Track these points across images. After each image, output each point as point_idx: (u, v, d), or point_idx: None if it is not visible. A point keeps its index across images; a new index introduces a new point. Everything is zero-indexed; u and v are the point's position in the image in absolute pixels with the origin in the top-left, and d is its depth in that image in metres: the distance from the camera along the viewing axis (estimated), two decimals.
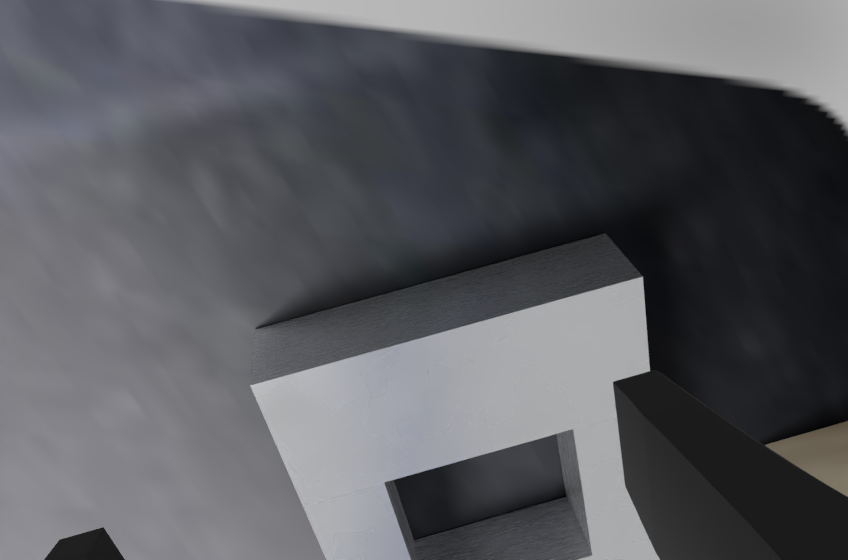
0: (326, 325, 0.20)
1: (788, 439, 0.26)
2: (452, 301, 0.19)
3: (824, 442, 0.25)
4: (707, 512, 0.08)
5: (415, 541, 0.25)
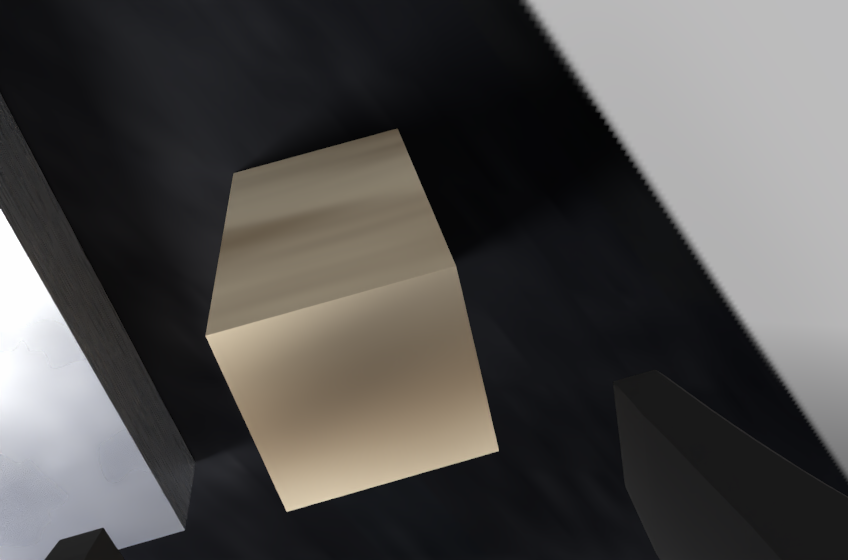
0: None
1: (304, 154, 0.17)
2: None
3: (344, 151, 0.17)
4: (707, 512, 0.08)
5: None
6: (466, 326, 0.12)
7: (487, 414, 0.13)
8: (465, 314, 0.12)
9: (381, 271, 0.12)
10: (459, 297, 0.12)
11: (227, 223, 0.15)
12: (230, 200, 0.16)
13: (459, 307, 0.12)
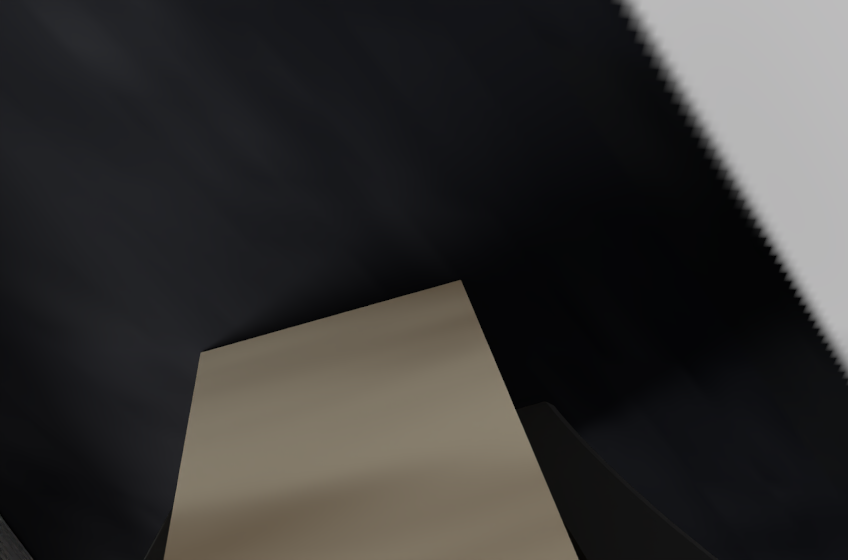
0: None
1: (313, 323, 0.11)
2: None
3: (378, 325, 0.10)
4: None
5: None
6: None
7: None
8: None
9: None
10: None
11: (180, 493, 0.08)
12: (190, 425, 0.10)
13: None
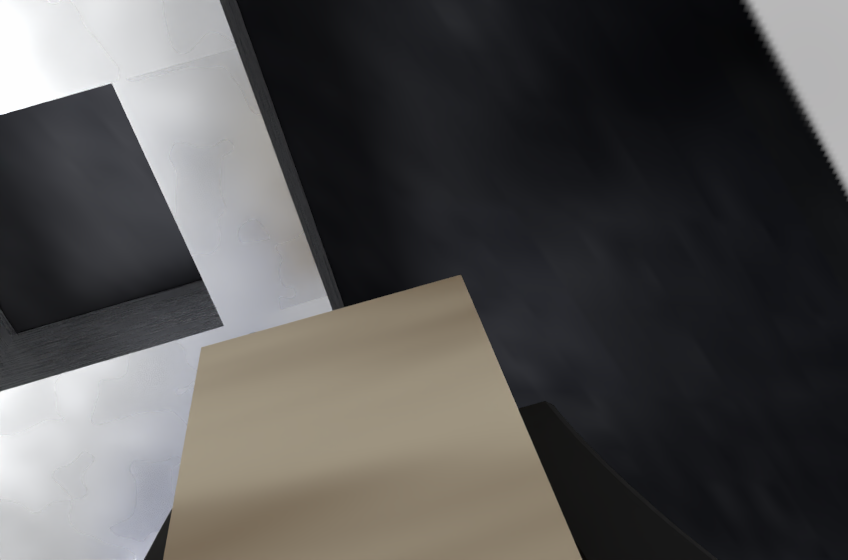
0: None
1: (313, 318, 0.11)
2: None
3: (378, 320, 0.11)
4: None
5: (16, 334, 0.18)
6: None
7: None
8: None
9: None
10: None
11: (180, 486, 0.08)
12: (191, 419, 0.10)
13: None
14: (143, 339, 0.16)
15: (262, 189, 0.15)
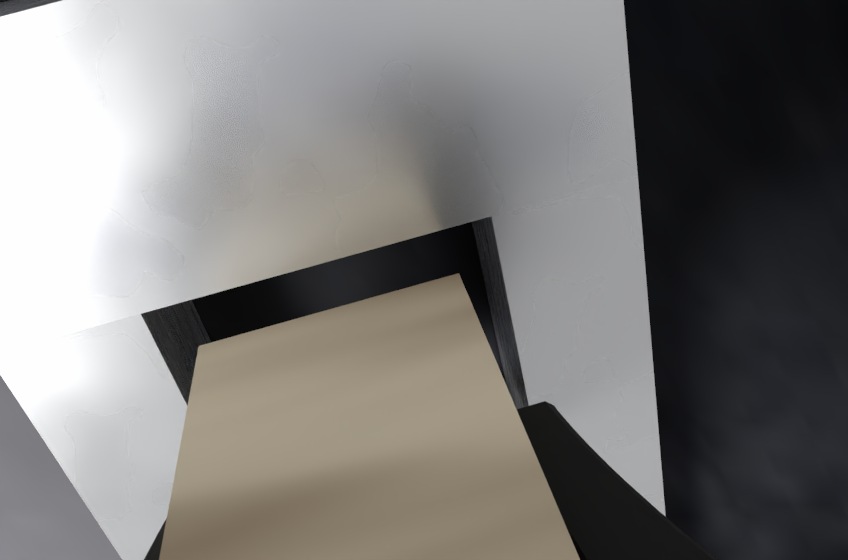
0: (12, 3, 0.10)
1: (310, 316, 0.11)
2: None
3: (375, 318, 0.10)
4: None
5: None
6: None
7: None
8: None
9: None
10: None
11: (177, 484, 0.08)
12: (188, 417, 0.10)
13: None
14: None
15: (622, 327, 0.12)
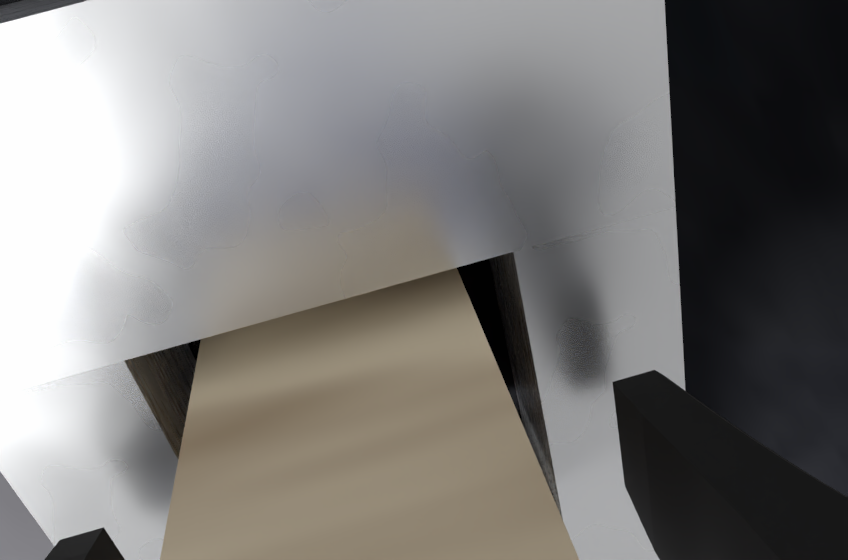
0: None
1: None
2: None
3: None
4: (706, 512, 0.08)
5: None
6: None
7: None
8: None
9: (444, 557, 0.07)
10: None
11: (194, 396, 0.10)
12: (201, 346, 0.11)
13: None
14: None
15: (654, 369, 0.11)
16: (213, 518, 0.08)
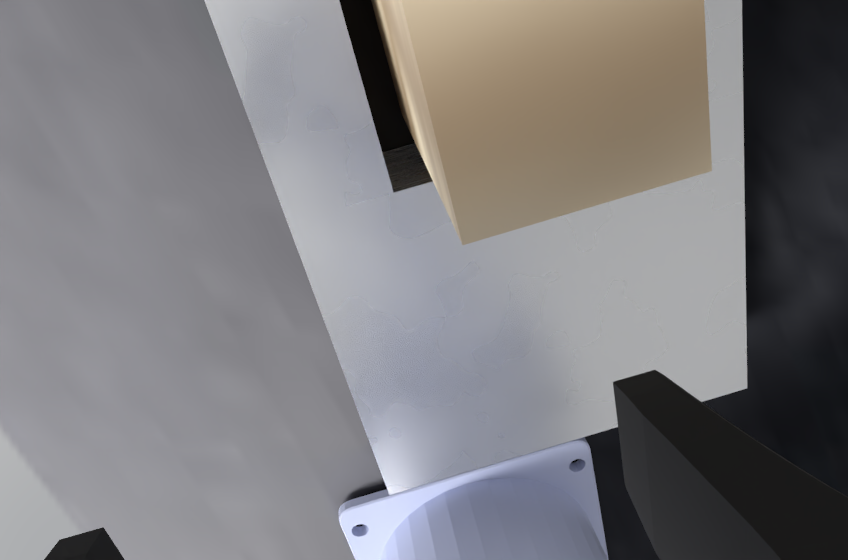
0: None
1: None
2: None
3: None
4: (707, 512, 0.08)
5: (382, 153, 0.18)
6: None
7: (706, 115, 0.11)
8: None
9: None
10: None
11: None
12: None
13: None
14: None
15: None
16: None
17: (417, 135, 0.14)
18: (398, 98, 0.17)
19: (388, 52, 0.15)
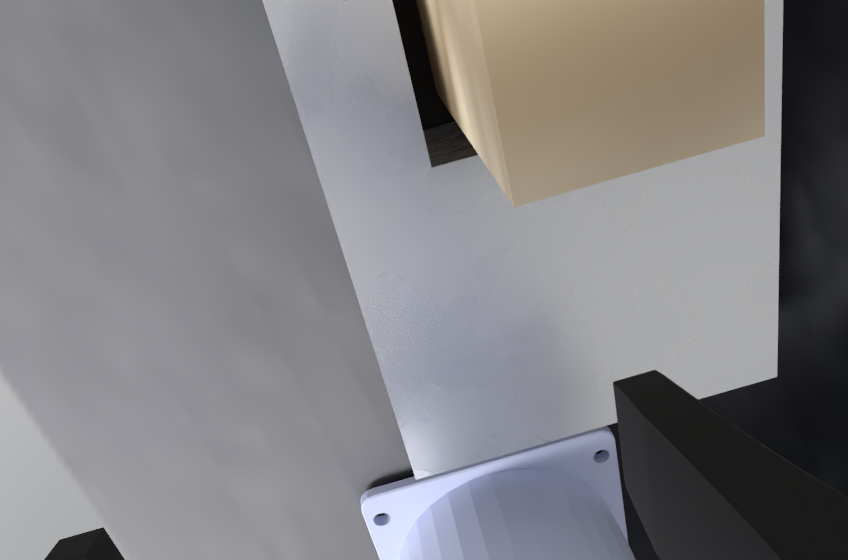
0: None
1: None
2: None
3: None
4: (707, 512, 0.08)
5: None
6: None
7: (761, 78, 0.11)
8: None
9: None
10: None
11: None
12: None
13: None
14: None
15: None
16: None
17: (459, 107, 0.14)
18: (434, 76, 0.17)
19: (428, 27, 0.15)
